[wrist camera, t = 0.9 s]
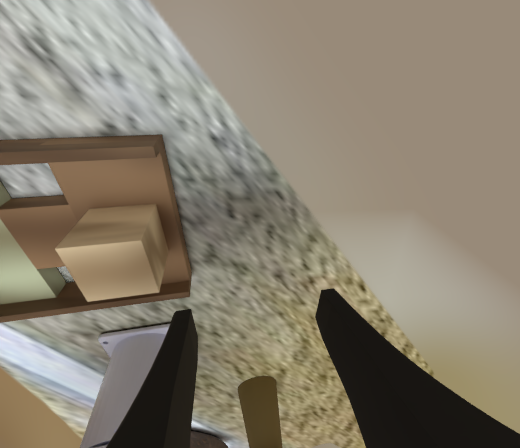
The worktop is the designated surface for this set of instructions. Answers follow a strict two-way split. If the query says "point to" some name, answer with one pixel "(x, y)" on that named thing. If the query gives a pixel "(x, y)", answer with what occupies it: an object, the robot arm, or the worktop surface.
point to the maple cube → (116, 252)
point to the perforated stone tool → (205, 441)
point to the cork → (261, 412)
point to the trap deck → (72, 210)
